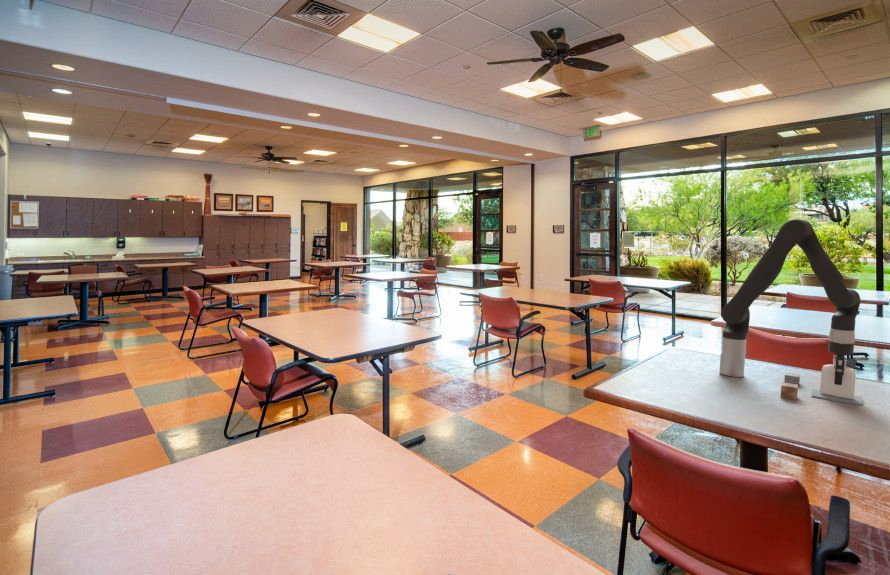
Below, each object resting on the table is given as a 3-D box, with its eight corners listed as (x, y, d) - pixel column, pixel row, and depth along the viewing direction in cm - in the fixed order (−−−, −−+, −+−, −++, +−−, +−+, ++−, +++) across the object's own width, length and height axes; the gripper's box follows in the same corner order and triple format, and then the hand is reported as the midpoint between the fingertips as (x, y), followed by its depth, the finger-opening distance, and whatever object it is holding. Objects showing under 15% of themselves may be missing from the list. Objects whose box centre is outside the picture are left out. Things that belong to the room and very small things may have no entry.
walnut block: (780, 397, 181) (781, 385, 180) (781, 394, 184) (782, 382, 184) (796, 400, 177) (797, 388, 177) (797, 396, 181) (798, 384, 181)
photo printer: (818, 393, 182) (821, 363, 181) (820, 391, 185) (823, 361, 184) (852, 400, 175) (855, 369, 173) (854, 397, 177) (857, 366, 176)
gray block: (784, 383, 197) (784, 374, 197) (784, 381, 200) (785, 372, 200) (798, 386, 194) (799, 377, 193) (799, 383, 197) (800, 374, 196)
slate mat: (811, 396, 181) (811, 395, 181) (812, 390, 188) (812, 388, 188) (863, 405, 171) (863, 404, 171) (861, 398, 179) (861, 396, 179)
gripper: (828, 336, 185) (825, 376, 187) (829, 342, 174) (825, 385, 176) (853, 338, 180) (849, 379, 182) (855, 345, 169) (851, 389, 171)
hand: (837, 382), depth 179 cm, fingers open, 6 cm apart
